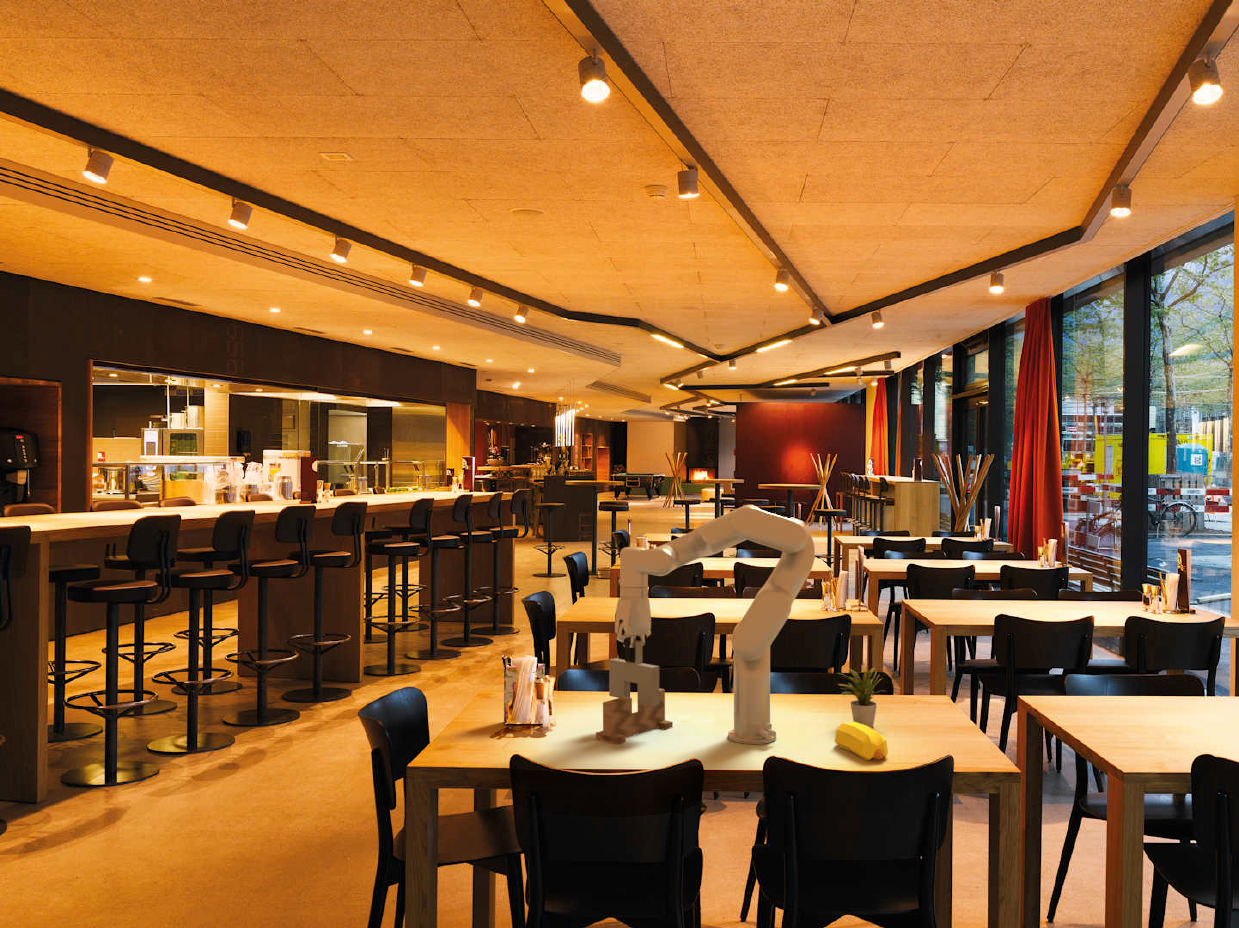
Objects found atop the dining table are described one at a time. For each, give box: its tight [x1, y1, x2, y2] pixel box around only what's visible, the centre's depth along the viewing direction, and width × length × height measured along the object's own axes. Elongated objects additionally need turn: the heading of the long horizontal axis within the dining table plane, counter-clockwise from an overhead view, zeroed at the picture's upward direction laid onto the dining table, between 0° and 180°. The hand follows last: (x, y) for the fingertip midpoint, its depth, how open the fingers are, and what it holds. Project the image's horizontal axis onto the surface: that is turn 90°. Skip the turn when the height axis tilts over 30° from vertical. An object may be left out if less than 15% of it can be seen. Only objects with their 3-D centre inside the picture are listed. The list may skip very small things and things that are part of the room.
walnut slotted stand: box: [595, 687, 674, 745], centre depth 257 cm, size 22×8×10 cm, turn 137°
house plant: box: [837, 667, 886, 729], centre depth 264 cm, size 14×14×16 cm
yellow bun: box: [834, 721, 889, 761], centre depth 238 cm, size 18×7×8 cm
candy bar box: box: [503, 663, 546, 725], centre depth 267 cm, size 11×5×16 cm, turn 92°
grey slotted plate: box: [608, 640, 660, 706], centre depth 257 cm, size 16×2×16 cm, turn 47°
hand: (633, 660), depth 257 cm, fingers closed on grey slotted plate, 2 cm apart
